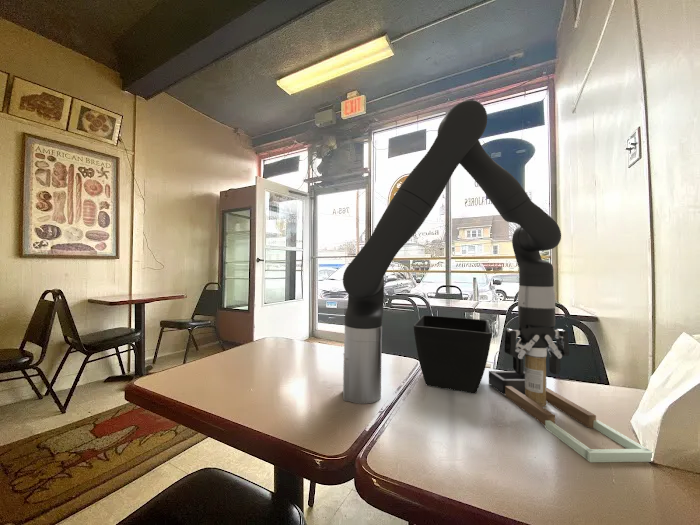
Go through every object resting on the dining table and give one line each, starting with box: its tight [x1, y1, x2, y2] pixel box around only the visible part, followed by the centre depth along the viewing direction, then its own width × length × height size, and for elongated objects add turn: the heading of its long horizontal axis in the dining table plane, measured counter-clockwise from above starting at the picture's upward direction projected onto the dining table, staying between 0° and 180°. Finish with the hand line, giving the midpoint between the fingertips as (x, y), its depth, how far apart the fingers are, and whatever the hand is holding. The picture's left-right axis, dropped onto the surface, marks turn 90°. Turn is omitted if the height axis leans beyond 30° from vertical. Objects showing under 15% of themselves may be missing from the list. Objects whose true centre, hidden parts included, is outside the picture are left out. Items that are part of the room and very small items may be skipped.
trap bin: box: [488, 370, 525, 395], centre depth 79 cm, size 10×7×4 cm
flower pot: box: [413, 314, 493, 394], centre depth 83 cm, size 19×19×17 cm
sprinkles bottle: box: [524, 348, 548, 408], centre depth 70 cm, size 5×5×13 cm
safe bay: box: [544, 419, 654, 463], centre depth 54 cm, size 11×10×2 cm
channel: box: [504, 386, 597, 429], centre depth 67 cm, size 10×15×2 cm, turn 2°
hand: (536, 373), depth 70 cm, fingers open, 8 cm apart
